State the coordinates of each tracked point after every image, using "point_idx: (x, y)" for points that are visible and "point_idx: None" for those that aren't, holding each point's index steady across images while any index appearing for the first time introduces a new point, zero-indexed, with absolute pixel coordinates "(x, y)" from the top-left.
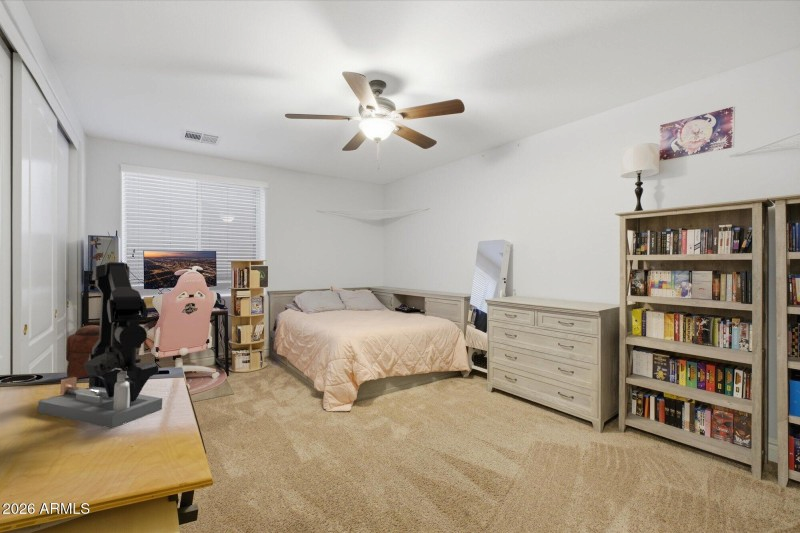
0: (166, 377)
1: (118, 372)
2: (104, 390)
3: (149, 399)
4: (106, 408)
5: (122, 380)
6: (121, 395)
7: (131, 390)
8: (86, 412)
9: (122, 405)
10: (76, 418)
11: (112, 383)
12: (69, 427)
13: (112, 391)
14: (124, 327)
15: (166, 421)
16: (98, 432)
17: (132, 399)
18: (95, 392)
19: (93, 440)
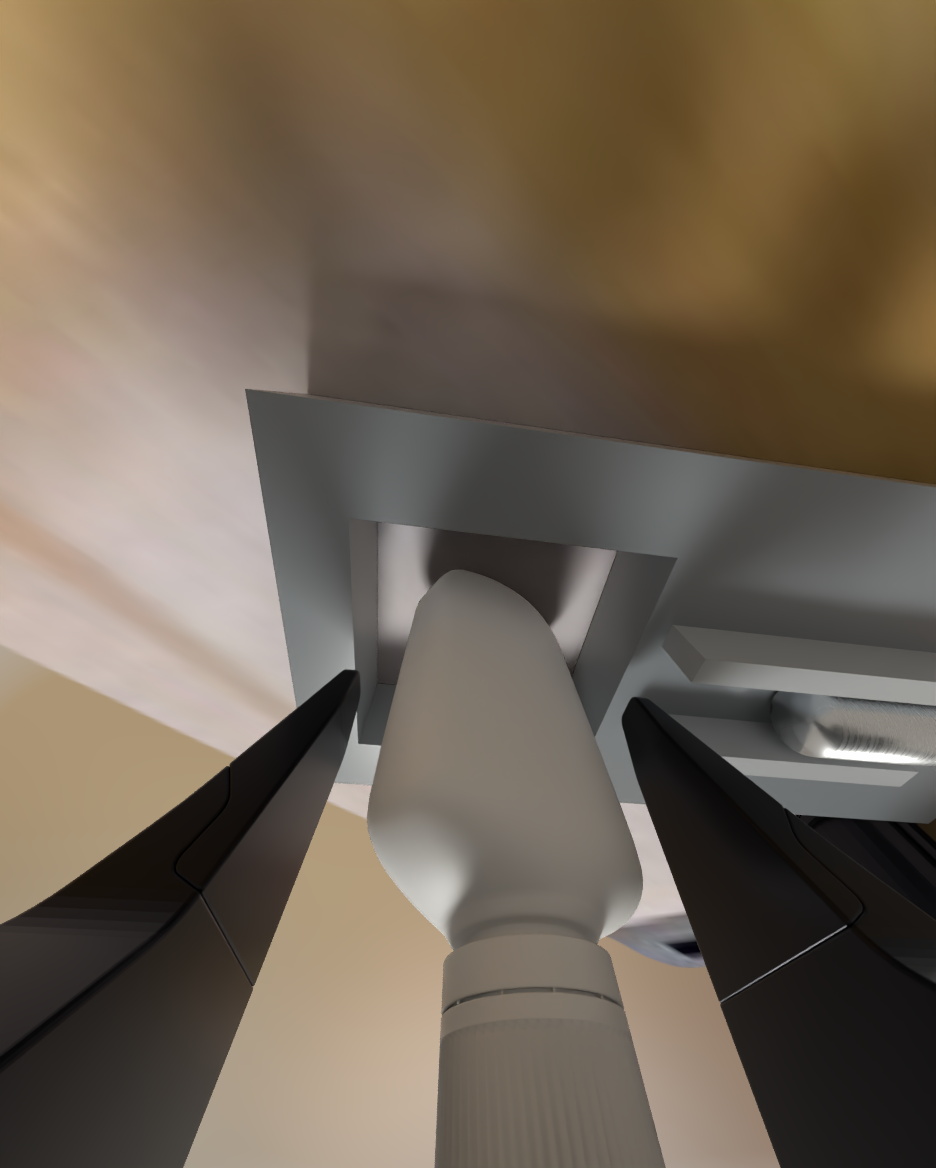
0: (646, 924)
1: (784, 1111)
2: (809, 795)
3: (369, 754)
4: (610, 625)
5: (466, 962)
6: (415, 692)
7: (244, 768)
8: (653, 446)
9: (423, 626)
10: (731, 455)
11: (710, 861)
12: (677, 310)
13: (647, 757)
14: None
15: (103, 595)
16: (326, 280)
17: (330, 686)
18: (832, 733)
19: (153, 47)
